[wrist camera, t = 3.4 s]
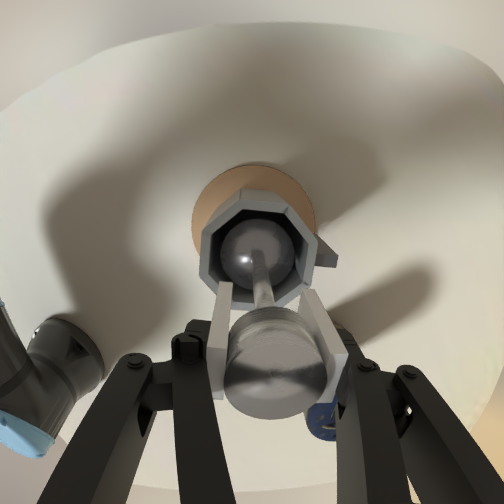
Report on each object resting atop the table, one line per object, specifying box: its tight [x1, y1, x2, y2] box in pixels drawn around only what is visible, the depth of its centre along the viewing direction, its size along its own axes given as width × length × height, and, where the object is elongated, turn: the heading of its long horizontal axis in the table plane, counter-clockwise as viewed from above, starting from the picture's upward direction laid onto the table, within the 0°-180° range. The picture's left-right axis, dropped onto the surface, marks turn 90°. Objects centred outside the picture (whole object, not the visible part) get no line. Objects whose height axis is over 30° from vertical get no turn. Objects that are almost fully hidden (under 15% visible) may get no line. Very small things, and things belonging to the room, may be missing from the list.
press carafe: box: [192, 165, 338, 311], centre depth 33 cm, size 16×16×14 cm
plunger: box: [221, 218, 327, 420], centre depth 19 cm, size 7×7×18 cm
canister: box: [303, 321, 344, 441], centre depth 36 cm, size 10×10×18 cm
